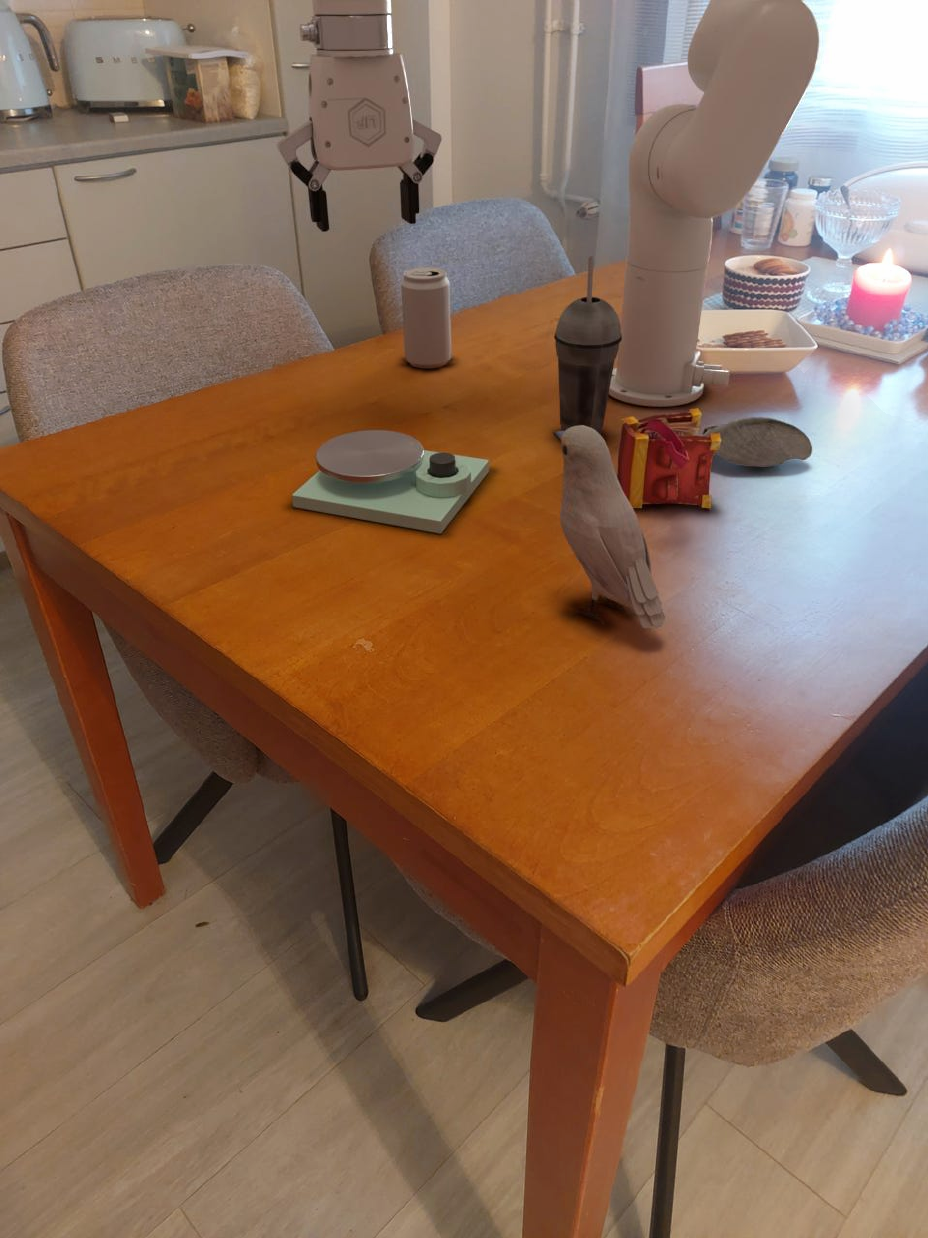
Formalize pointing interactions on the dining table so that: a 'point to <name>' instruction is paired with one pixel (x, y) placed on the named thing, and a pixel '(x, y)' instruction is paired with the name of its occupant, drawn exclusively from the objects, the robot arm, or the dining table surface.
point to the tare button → (442, 465)
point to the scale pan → (369, 456)
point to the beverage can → (426, 317)
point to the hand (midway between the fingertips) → (366, 224)
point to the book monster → (666, 460)
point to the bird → (605, 529)
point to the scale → (397, 495)
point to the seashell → (760, 441)
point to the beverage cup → (586, 358)
